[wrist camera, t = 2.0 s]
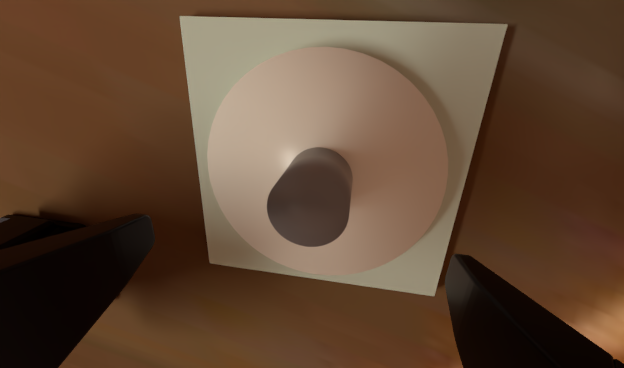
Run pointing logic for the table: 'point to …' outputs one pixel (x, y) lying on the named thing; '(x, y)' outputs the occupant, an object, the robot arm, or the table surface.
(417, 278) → the mat
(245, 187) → the lid
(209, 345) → the table surface
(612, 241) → the table surface
